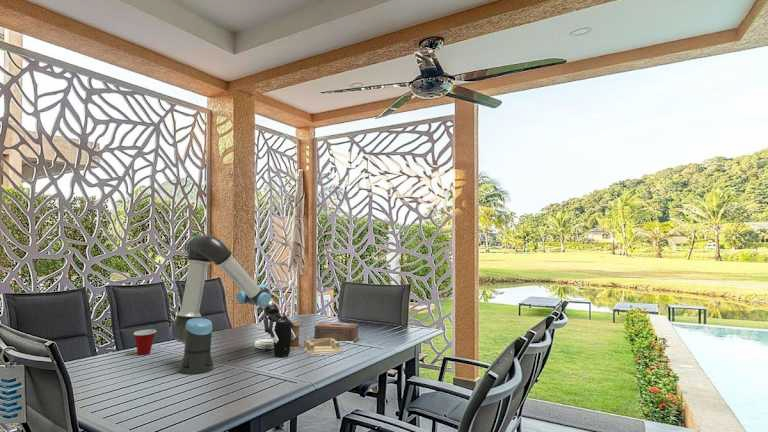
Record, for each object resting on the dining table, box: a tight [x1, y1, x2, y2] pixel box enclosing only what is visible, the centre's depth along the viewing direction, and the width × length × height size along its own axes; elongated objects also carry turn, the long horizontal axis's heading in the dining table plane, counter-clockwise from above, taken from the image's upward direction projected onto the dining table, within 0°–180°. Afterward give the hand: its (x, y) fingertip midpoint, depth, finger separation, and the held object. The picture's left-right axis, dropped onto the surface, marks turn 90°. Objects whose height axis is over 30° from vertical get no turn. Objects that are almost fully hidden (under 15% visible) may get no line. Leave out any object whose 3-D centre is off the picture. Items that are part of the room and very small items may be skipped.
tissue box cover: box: [313, 321, 359, 341], centre depth 272 cm, size 26×14×10 cm, turn 83°
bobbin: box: [290, 321, 304, 350], centre depth 247 cm, size 8×8×14 cm
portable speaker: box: [273, 318, 291, 358], centre depth 228 cm, size 9×9×20 cm
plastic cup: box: [133, 328, 157, 356], centre depth 224 cm, size 11×11×12 cm
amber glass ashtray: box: [301, 338, 344, 355], centre depth 240 cm, size 18×19×6 cm
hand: (285, 340), depth 226 cm, fingers open, 11 cm apart
